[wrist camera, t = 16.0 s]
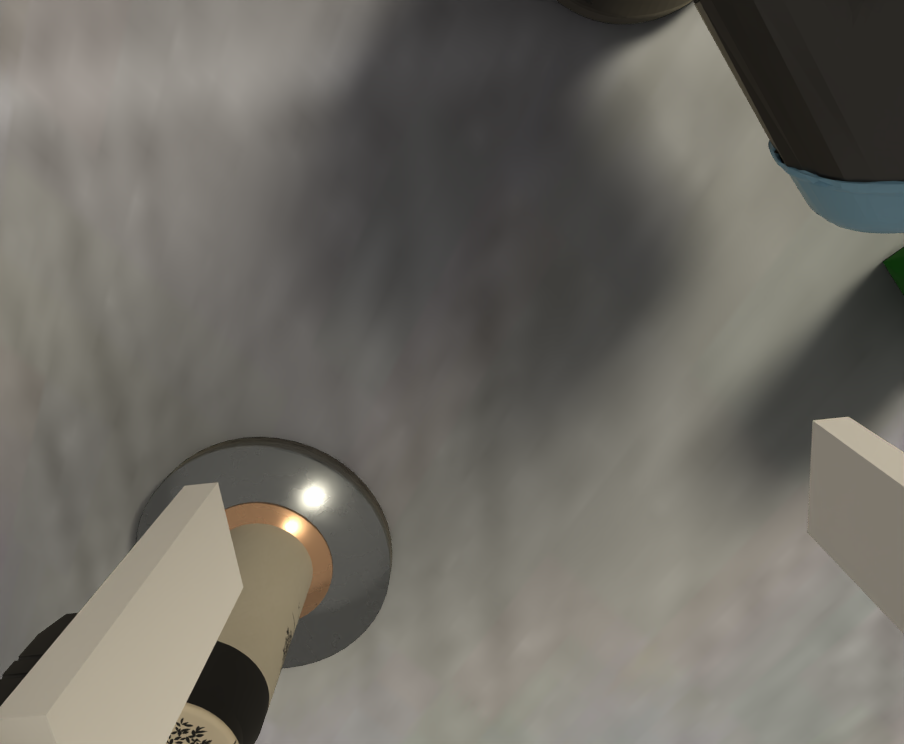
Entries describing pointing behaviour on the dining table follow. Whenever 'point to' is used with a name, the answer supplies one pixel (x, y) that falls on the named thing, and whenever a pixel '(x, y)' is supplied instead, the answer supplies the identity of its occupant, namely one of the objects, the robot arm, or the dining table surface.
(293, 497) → the grey flat disc
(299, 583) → the travel mug
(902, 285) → the soya milk
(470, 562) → the dining table surface
